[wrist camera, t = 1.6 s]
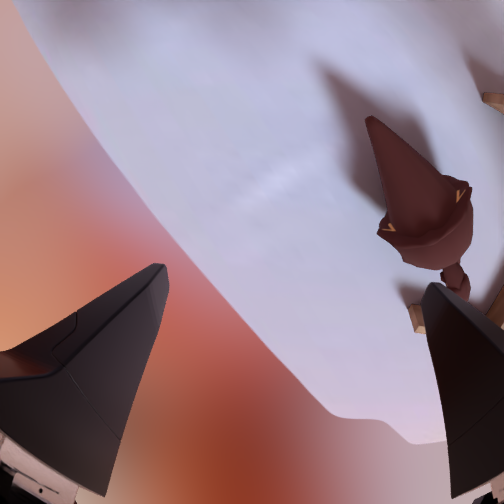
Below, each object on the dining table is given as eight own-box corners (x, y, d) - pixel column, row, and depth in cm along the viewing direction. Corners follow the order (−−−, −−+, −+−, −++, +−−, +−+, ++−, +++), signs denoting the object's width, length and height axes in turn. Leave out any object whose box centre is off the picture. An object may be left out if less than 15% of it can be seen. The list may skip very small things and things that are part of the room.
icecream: (308, 173, 14) (420, 331, 19) (434, 98, 9) (506, 301, 14) (324, 131, 19) (416, 268, 24) (409, 78, 14) (485, 239, 19)
